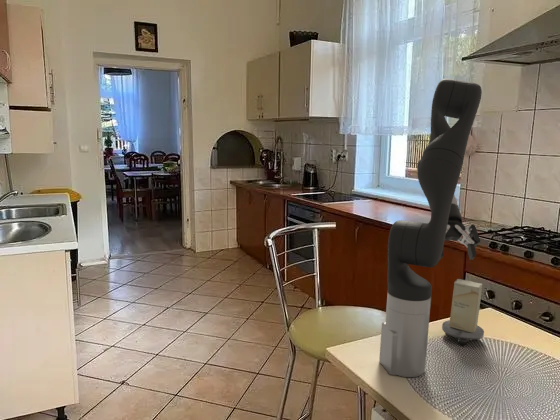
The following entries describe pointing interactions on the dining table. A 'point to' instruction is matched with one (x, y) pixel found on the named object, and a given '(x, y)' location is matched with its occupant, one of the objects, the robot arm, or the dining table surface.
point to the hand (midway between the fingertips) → (457, 257)
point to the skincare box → (465, 305)
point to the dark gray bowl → (462, 333)
